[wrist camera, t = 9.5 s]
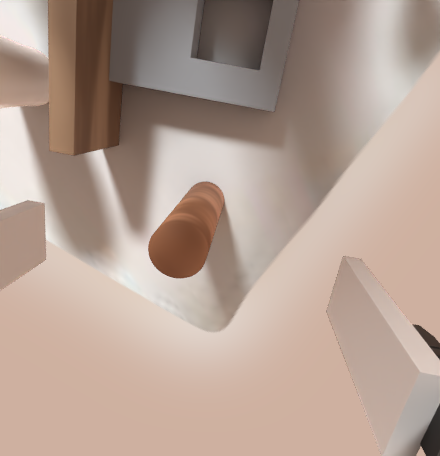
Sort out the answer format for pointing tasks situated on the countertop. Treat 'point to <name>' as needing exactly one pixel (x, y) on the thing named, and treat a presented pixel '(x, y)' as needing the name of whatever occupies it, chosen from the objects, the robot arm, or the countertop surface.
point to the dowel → (187, 232)
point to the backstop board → (81, 77)
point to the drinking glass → (22, 75)
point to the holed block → (193, 53)
